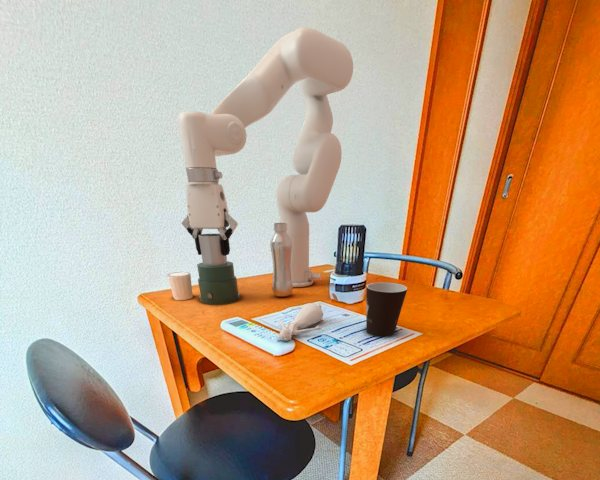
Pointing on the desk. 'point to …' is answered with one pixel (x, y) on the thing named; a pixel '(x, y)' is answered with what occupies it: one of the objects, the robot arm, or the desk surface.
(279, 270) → the silver metal bottle
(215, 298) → the dark green tiered cylinder
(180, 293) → the pale pink short cylinder
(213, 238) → the silver cup
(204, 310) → the desk surface
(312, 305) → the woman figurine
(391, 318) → the coffee mug
